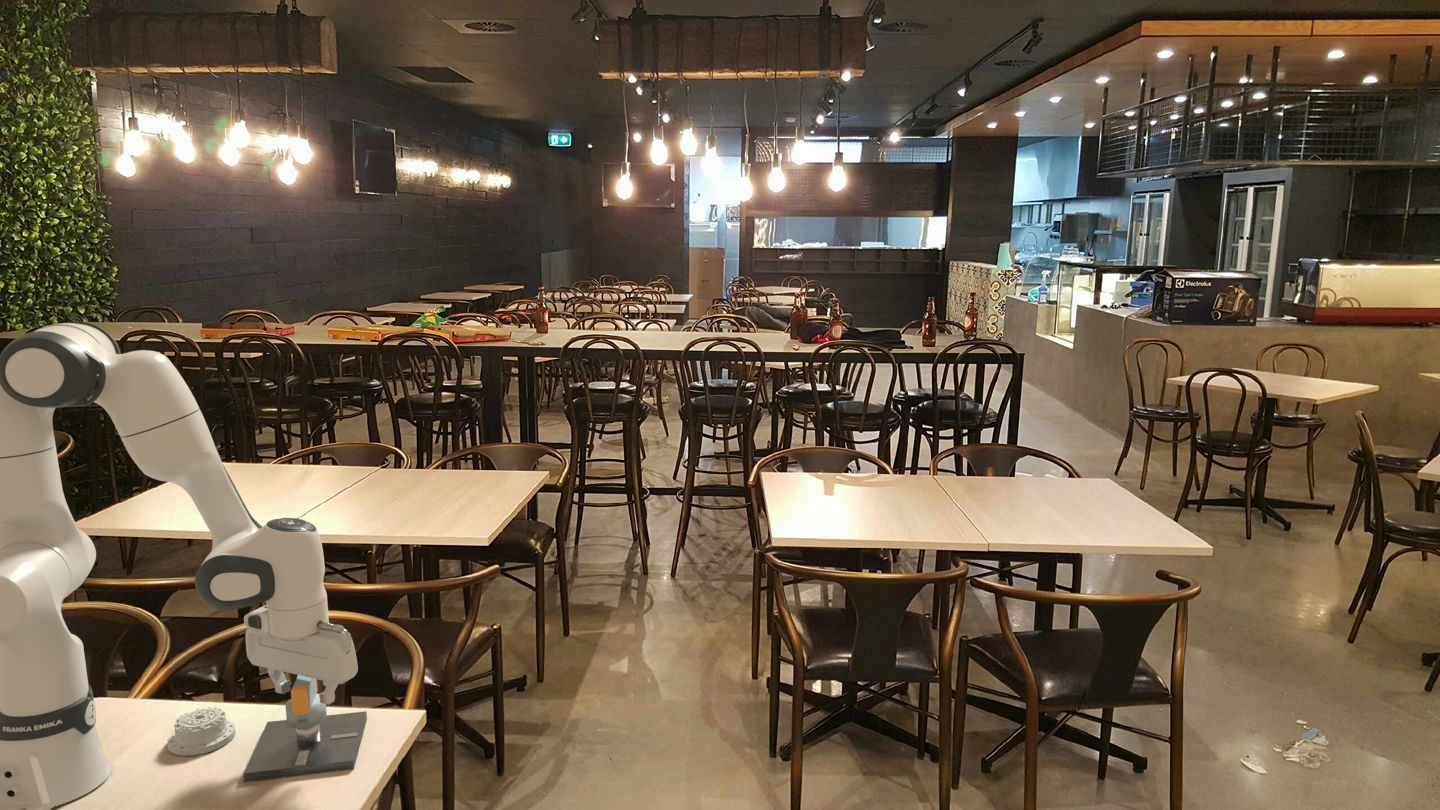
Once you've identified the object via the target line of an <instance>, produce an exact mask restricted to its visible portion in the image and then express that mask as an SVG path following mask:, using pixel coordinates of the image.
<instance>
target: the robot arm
mask: <svg viewBox="0 0 1440 810" xmlns="http://www.w3.org/2000/svg"><path fill="white" fill-rule="evenodd" d="M93 403H95V404H97V405H98V406H100V407H102V408H103V409H104V410H105V412H107V414H108V416H109V417H110V418H111V419H110V420H111V421H112V423H113V424H114V426H115V429H116V431H117V432H118V436H119V437H120V440H121V442H122V443H123V445H124V447H125V450H126V452H127V453H128V455H129V456H130V458H131V459H132V460H133V462H134V463H135V464H136V466H137V467H138V469H139V470H140V471H141V472H142V473H143V474H144V475H145V476H148V477H149V478H151V479H154V480H157V481H161V482H168V483H172V484H175V485H176V486H179V487H180V488H181V489H183V490H184V491H185V492H187V494H188V495H189V497H190V498H191V500H192V501H193V504H194V505H195V507H196V509H197V510H198V512H199V514H200V516H201V518H202V519H203V521H204V523H205V524H206V526H207V528H208V530H209V533H210V534H211V538H212V539H211V542H212V546H211V547H212V548H211V551H210V553H209V554H208V555H207V556H206V558H205V559H204V560H203V561H202V563H201V565H200V566H199V568H198V570H197V571H196V574H195V578H194V585H195V590H196V594H197V595H198V596H199V598H200V599H201V600H202V601H203V602H204V603H205V604H206V605H208V606H209V607H211V608H214V609H216V610H222V611H234V610H239V609H244V608H248V607H252V606H256V605H259V604H262V603H264V602H266V605H263V606H261V607H258V608H257V609H254V610H252V611H250V612H249V613H247V614H245V615H244V617H243V621H244V622H243V623H244V626H245V627H247V628H246V631H245V646H246V647H245V648H246V649H245V650H246V657H247V659H248V660H249V661H250V663H251V664H252V665H253V666H257V667H262V668H265V669H267V674H268V676H269V677H270V679H271V681H272V683H274V691H275V693H278V694H281V695H285V694H286V693H288V692H291V680H289V679H287V677H286V675H285V673H289V674H292V675H297V676H298V675H301V676H305V677H310V678H314V679H317V680H319V681H322V685H323V686H325V688H324V691H322V692H320V693H318V694H319V697H320V703H323V704H326V705H328V706H329V705H331V704H332V703H334V702H335V699H336V693H335V691H336V689H337V688H338V686H339V685H344V684H345V683H347V682H348V681H349V680H351V679H353V678H355V676H356V675H357V673H358V671H359V666H358V665H359V664H358V660H357V659H358V658H357V655H356V649H355V644H354V642H353V638H352V635H351V633H350V632H348V630H347V629H345V627H344V626H343V625H341V624H333V623H332V622H330V621H329V607H328V606H329V605H328V594H327V591H326V588H325V585H324V576H325V573H326V567H325V557H324V550H323V544H322V540H321V536H320V533H319V530H318V529H317V527H316V526H315V525H314V524H312V523H311V522H310V521H307V520H305V519H301V518H295V517H281V518H275V519H271V520H269V521H267V522H266V523H265V524H264V525H261V524H260V523H259V522H258V521H257V520H256V519H255V518H254V517H253V516H252V515H251V513H250V511H249V509H248V508H247V506H246V504H245V502H244V500H243V498H242V497H241V494H240V493H239V491H238V489H237V487H236V485H235V483H234V482H233V480H232V478H231V476H230V474H229V473H228V471H227V469H226V468H225V467H226V466H225V465H224V464H223V461H222V459H221V456H220V454H219V452H218V450H217V448H216V447H217V446H216V445H215V441H214V440H213V437H212V433H211V432H210V429H209V427H208V424H207V422H206V420H205V417H204V415H203V412H202V411H201V409H200V406H199V404H198V402H197V401H196V398H195V396H194V395H193V393H192V391H191V390H190V388H189V386H188V384H187V383H186V381H185V380H184V378H183V377H182V375H181V374H180V372H179V371H178V369H177V367H175V366H174V363H172V362H171V360H170V359H169V358H168V356H166V355H164V354H162V353H161V352H158V351H154V350H146V349H142V350H141V349H139V350H133V351H129V352H125V353H121V349H120V347H119V344H118V342H117V340H116V339H115V338H114V337H113V336H112V334H111V333H109V332H108V331H106V330H105V329H104V328H102V327H101V326H97V324H96V325H95V324H92V323H89V322H84V321H70V322H69V321H68V322H63V323H54V324H49V325H44V326H42V327H40V328H38V329H36V330H34V331H32V332H27V333H25V334H22V335H19V336H18V337H16V338H15V339H13V340H12V341H10V342H9V343H8V344H7V346H6V347H4V348H3V350H2V352H0V810H52V809H53V807H54V808H56V807H59V806H60V805H64V804H67V803H69V802H72V801H74V800H76V799H79V798H81V797H83V796H85V795H86V794H88V793H90V792H92V791H93V790H95V789H96V788H98V787H99V786H100V785H102V784H103V783H104V782H105V781H106V780H108V778H109V776H110V775H111V773H112V764H111V763H110V761H109V760H108V757H107V756H106V753H105V751H104V749H103V747H102V743H101V741H100V738H99V734H98V731H97V727H96V723H97V711H96V702H95V699H94V693H93V689H92V686H91V685H89V680H88V674H87V673H88V672H87V665H86V658H85V657H86V656H85V651H84V649H85V648H84V643H83V641H82V640H81V638H79V637H78V636H77V635H75V634H73V633H71V631H70V630H69V628H68V626H67V625H66V622H65V620H64V617H63V613H62V604H63V601H64V599H65V598H67V597H68V596H69V595H70V594H72V593H73V592H74V591H76V590H77V589H78V588H79V587H81V586H82V585H83V583H84V582H85V580H86V579H87V577H88V576H89V574H90V572H91V571H92V570H93V567H94V565H95V562H96V558H97V550H96V547H95V544H94V542H93V540H92V539H91V538H90V536H88V534H86V533H85V532H84V531H82V530H81V529H79V527H78V525H77V523H76V522H75V519H74V517H73V515H72V513H71V511H70V507H69V506H68V503H67V501H66V497H65V494H64V490H63V484H62V478H61V472H60V466H59V459H58V453H57V452H58V451H57V446H56V440H55V439H56V438H55V434H54V425H53V416H54V413H55V410H56V409H57V408H59V409H60V408H68V407H69V408H70V407H73V408H74V407H88V406H91V405H93ZM58 805H59V806H58ZM55 806H56V807H55Z"/></svg>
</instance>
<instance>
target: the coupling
mask: <svg viewBox="0 0 1440 810" xmlns="http://www.w3.org/2000/svg"><path fill="white" fill-rule="evenodd" d="M317 680H318V679H314V678H310V677H305V676H301V675H297V676H296V679H295V681H294V683H293V686H292V687H291V689H290V698H291V699H289V700H288V701H287V702H286V703H285V716H286V718H285V719H286V720H287V725H288V726H289V727H291V728H296V729H298V730H302V729H307V728H309V727H312V726H315V725H318V724H320V723H321V722H323V721H324V720H325V719H326V717H327V704H323V703H320V697H319V694H320V693H318V681H317Z"/></svg>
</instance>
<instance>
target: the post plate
mask: <svg viewBox="0 0 1440 810" xmlns="http://www.w3.org/2000/svg"><path fill="white" fill-rule="evenodd" d="M367 720H368V713H367V710H365V711H364V710H363V711H357V712H356V711H355V712H349V713H348V712H347V713H337V714H336V713H335V714H328V715H327V717H326V719H325V720H324V721H323V722H321V723H320V724H318V725H315V726H312V727H309V728H307V729H302V730H298V729H296V728H291V727H289V726H288V725H287V719H280V720H272V721H267V722H266V725H265V727H264V728H263V731H262V732H261V735H260V737H259V739H258V742H257V743H256V745H255V748H254V750H253V753H252V754H251V757H250V758H249V761H248V763H247V764H246V767H245V769H244V771H243V783H250V782H257V781H266V780H273V779H275V780H276V779H281V778H291V777H298V776H306V775H316V774H324V773H331V772H332V773H333V772H334V773H335V772H340V771H347V770H348V771H349V770H354V769H355V766H356V762H357V759H358V755H359V751H360V747H361V743H362V740H363V736H364V733H365V728H366V723H367V722H368V721H367Z"/></svg>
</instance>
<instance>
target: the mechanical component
mask: <svg viewBox="0 0 1440 810" xmlns="http://www.w3.org/2000/svg"><path fill="white" fill-rule="evenodd" d="M226 716H227V715H226V711H224V710H221V707H216V706H215V707H212V706H208V707H207V708H201V709H200V708H196V709H195V710H194V711H193V710H192V711H190V712H185V713H184V715H180V716H179V717H177V718H176V721H175V723H174V724H173V725H174V726H173V727H174V732H172V733H171V734H170V735H169V736H168V738H167V749H168V751H169V752H170V753H171V754H173V755H176V756H184V757H186V756H187V757H188V756H189V757H191V756H197V755H202V754H203V755H204V754H207V753H209V752H213V751H216V750H218V749H220V748H222V747H224V746H225V745H228V744H229V743H230V742H231V741H232V740H233V739H234V738H235V736H236V725H235V723H234V722H233V721H231V720H228V719H227V717H226Z"/></svg>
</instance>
